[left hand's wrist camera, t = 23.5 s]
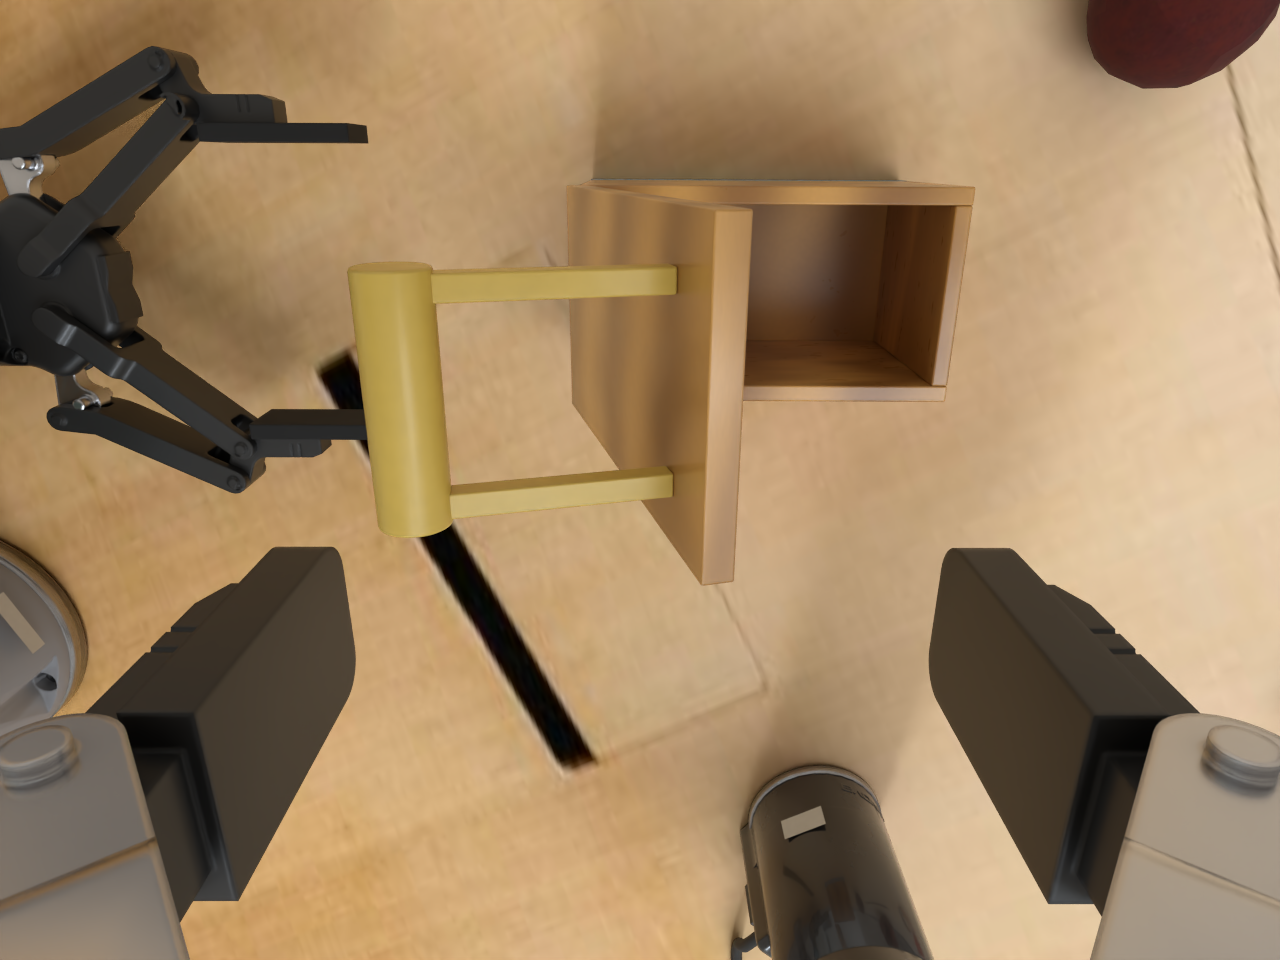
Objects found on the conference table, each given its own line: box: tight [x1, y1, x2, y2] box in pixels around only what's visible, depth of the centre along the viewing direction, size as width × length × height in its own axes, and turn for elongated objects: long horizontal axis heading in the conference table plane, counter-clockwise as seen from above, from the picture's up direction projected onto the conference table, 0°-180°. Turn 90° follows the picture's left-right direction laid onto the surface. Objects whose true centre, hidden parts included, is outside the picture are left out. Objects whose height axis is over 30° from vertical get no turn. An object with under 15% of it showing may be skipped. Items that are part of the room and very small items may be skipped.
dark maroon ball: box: [1087, 0, 1280, 88], centre depth 38 cm, size 7×8×7 cm
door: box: [347, 185, 753, 585], centre depth 26 cm, size 17×9×9 cm
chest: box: [581, 179, 975, 402], centre depth 41 cm, size 16×9×11 cm, turn 90°
